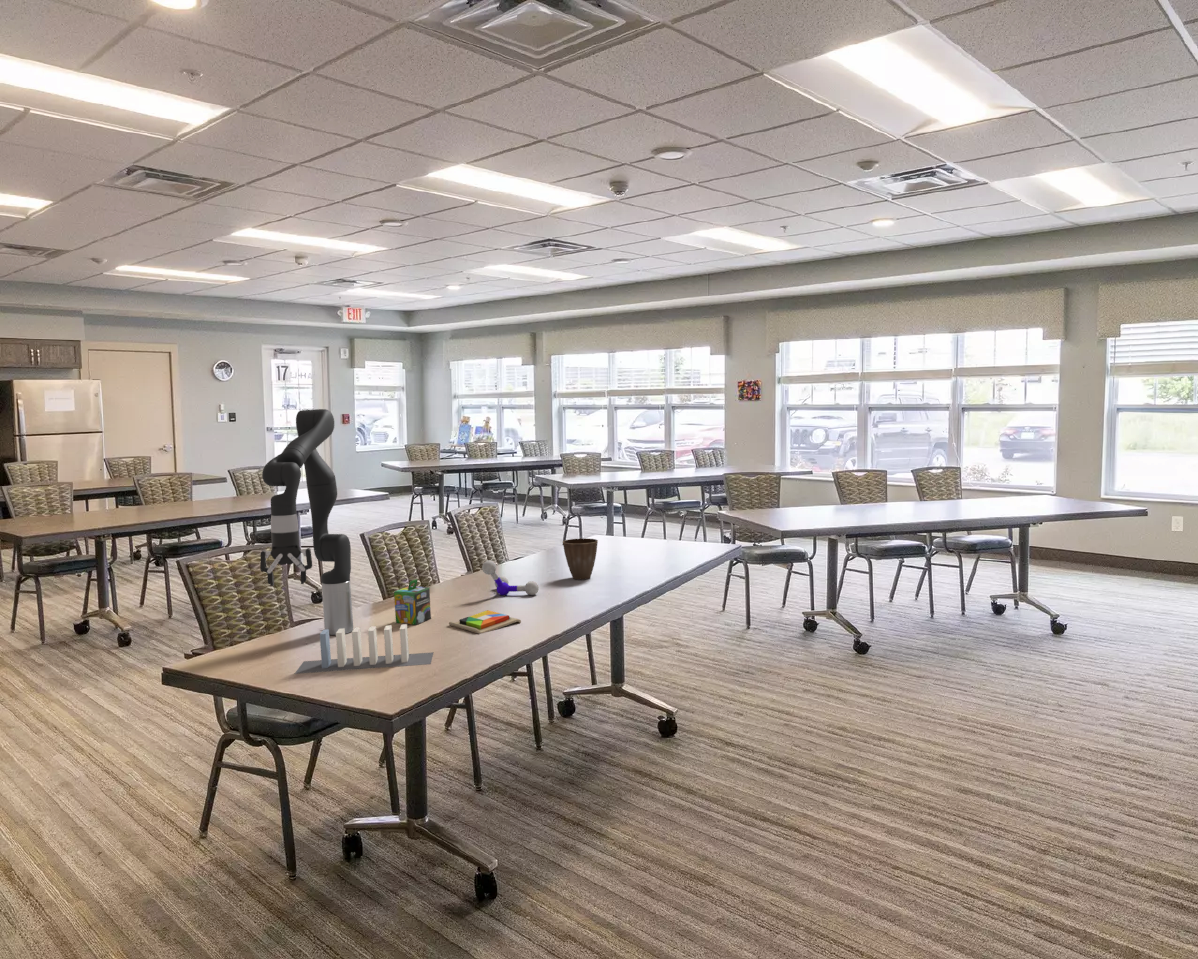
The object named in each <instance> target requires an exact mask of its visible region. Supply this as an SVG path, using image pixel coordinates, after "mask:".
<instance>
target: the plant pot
mask: <svg viewBox="0 0 1198 959" xmlns="http://www.w3.org/2000/svg"><path fill="white" fill-rule="evenodd" d="M598 542H599V539H596V538H584V537H583V538H571V539H566V540H563V541H562V546H563V551H564V556H565V560H566V563H567V567H568V568H569V569H568V570H569V572H570V574H571V577H572V579H573V580H576V581H577V580H578V581H579V580H580V581H582V580H588V579H591V576H592V574H593V570H594V567H595V564H596V563H595V562H596V557H597V553H598V552H597V551H598Z"/></svg>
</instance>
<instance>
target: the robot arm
mask: <svg viewBox="0 0 1198 959" xmlns="http://www.w3.org/2000/svg"><path fill="white" fill-rule="evenodd" d="M295 427H296V432H297V433H296V434H297V437H296V438H294V439H293V440H291V441H290V442H289V443H288V444H287V445H285V446H286V447H285V448H283V450H282V452H281V453H280V454H278V455H276V456H275V457H273V458H272V459H271V460H269V461H268V462H267V463H266V464H265V465H264V467H263V469H262V473H261V476H262V477H261V478H262V481H263V482H264V484H266V485H267V486H269V487H285V490H284V492H282V493H279V494H275V495H273V496H271V498H270V514H271V515H270V516H271V519H270V535H271V550H265V549H264V550H262V551H261V552H260V561H259V562H260V570H259V571H261V572H262V573H265V574H267V583H268V585H270V587H273V586H275V581H274V580H275V579H274V572H273V570H274V569H275V568H276V567H277V565H280V566H283V565H293V564H294V565H295V566H296V567H297V568H299V570H300V574H299V575H300V585H304V584H305V583H306V581H307V571H308V570H311V569H312V567H313V557H312V551H311V549H312V548H310V547H307V548H302V549H301V548H300V538H299V534H300V533H299V527H300V526H299V521H298V516H297V515H298V514H297V495H298V492H299V486H300V482H301V478H302V471H301V468H302V467H303V466H304V472H305V473H304V474H305V481H306V489H307V490H306V491H307V496H308V500H309V506H310V514H311V524H312V525H311V526H312V528H311V530H312V543H313V544H312V545H313V553H314V556H315V558H316V559H317V561H319V562H324V563H325V562H327V563H328V562H332V563H333V562H334V564H333V565H334V566H333V568H332V569H331V570H328V571H325V572H323V573H322V574H321V576H320V577H321V578H320V581H321V582H320V583H321V592H322V593H321V594H322V609H323V624H324V625H323V626H324V630H327V629H329V636H330V635H331V636H336V632H337V631H338V629H343V628H345V634H349V633H352V631H353V630H354V619H353V618H354V617H353V604H352V603H353V602H352V590H351V589H352V588H351V571H352V564H351V563H352V561H351V560H352V558H351V557H352V556H351V555H352V554H351V552H352V551H351V549H352V548H351V541H350V538H349V537H348V536H347V535H346V534H343V533H329V528H328V520H329V516H330V514H331V512H332V509H333V508H334V506H335V504H336V501H337V498H338V488H337V480H336V475H335V473H334V472H333V470H332V468H331V467H330V466H329V464H328V463H327V462H326V461H325V460H324V458H322V456H321V454H320V453H319V452H318V449H317V448H319V446H320V445H322V443H323V442H325V441H326V440H327V439H328V438H329V437H330V436H331V435H332V434H333V432H334V429H335V418H334V415H333V413H332V412H331V411H330V410H329V409H326V408H324V409H323V408H317V409H304V410H303V409H302V410H299V411H298V412H297V414H296V417H295ZM301 554H302V555H303V557H305V558H306V565H305V564H304V563H303V561H302V560H301V559H300V558H299V557H300V555H301ZM269 556H271V557H272V558H273V560H274V561H273V562H272V564H271V565H270V566H269V567H267V559H268V558H269Z"/></svg>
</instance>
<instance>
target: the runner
mask: <svg viewBox="0 0 1198 959" xmlns="http://www.w3.org/2000/svg"><path fill="white" fill-rule="evenodd" d="M433 657H434V652H433V651H432V652H431V651H430V652H418V653H409V658H408V661H407V662H403V663H402V661H401V654H393V661H392V663H389V664H386V658H385V655H378V660H377V663H376V664H375V665H370V658H369V656H362V662H361V664H360V666H354V658H353V657H347V662H346V664H345V665H344V667H338V659H337V658H334V659H332V658H331V664H330V665H329V667H328V668H322V661H321V659H317V660H305V661H303V662H302V663H301V664H300V666H299V667H298V668H297V670H296V671H295V672H294V675H299V674H300V675H301V674H312V673H314V674H315V673H326V672H327V673H329V672H341V671H355V670H356V671H357V670H369V669H381V668H382V669H383V668H384V669H385V668H395V667H409V666H410V667H412V666H425V665H426V666H427V665H431V664H432V660H433Z"/></svg>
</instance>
